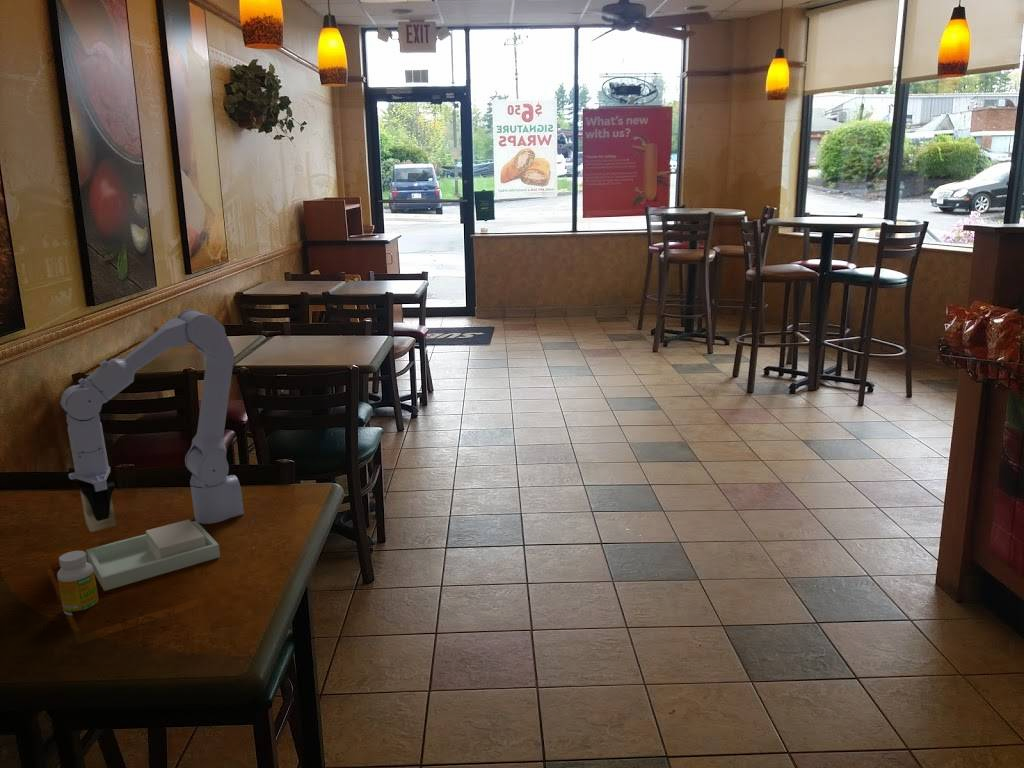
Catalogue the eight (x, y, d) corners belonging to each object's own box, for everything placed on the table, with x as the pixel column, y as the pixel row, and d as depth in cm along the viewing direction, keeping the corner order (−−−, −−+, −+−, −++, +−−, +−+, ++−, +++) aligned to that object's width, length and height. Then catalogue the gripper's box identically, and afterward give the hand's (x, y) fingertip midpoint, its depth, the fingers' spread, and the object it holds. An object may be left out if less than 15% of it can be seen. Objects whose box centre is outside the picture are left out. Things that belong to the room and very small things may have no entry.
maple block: (111, 518, 161) (105, 485, 159) (116, 525, 158) (110, 491, 156) (86, 524, 158) (80, 490, 157) (90, 532, 155) (84, 497, 153)
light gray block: (191, 538, 161) (188, 519, 160) (207, 555, 153) (204, 536, 152) (148, 549, 156) (145, 530, 155) (162, 568, 149) (159, 548, 148)
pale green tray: (198, 536, 164) (196, 520, 163) (220, 561, 153) (218, 544, 152) (88, 566, 152) (86, 549, 151) (104, 595, 141) (101, 577, 141)
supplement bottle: (84, 618, 134) (75, 564, 132) (56, 615, 136) (46, 562, 133) (106, 601, 140) (97, 549, 137) (79, 599, 141) (69, 547, 138)
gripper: (58, 443, 157) (70, 509, 161) (71, 463, 146) (84, 533, 150) (98, 435, 161) (108, 499, 165) (114, 454, 150) (125, 522, 154)
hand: (99, 515), depth 157 cm, fingers closed on maple block, 4 cm apart
